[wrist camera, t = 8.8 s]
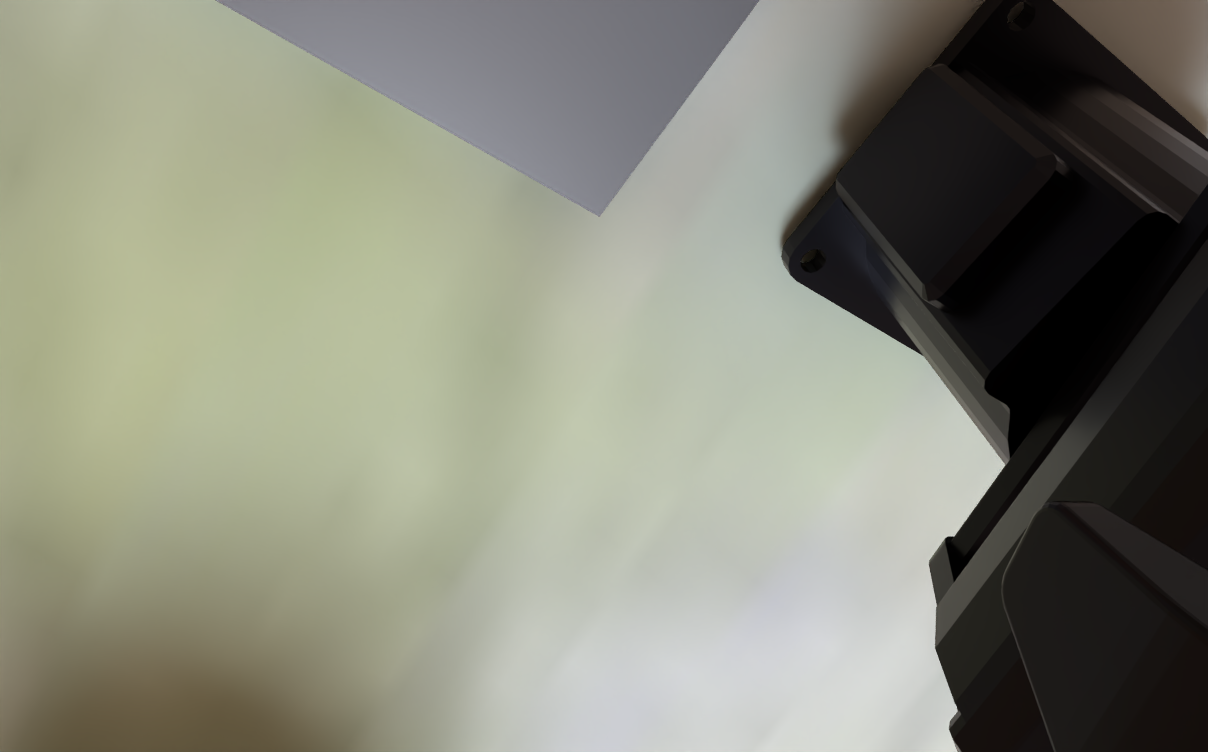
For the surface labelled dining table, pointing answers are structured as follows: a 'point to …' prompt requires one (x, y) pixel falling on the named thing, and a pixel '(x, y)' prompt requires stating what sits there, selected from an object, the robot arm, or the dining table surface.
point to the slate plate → (524, 72)
